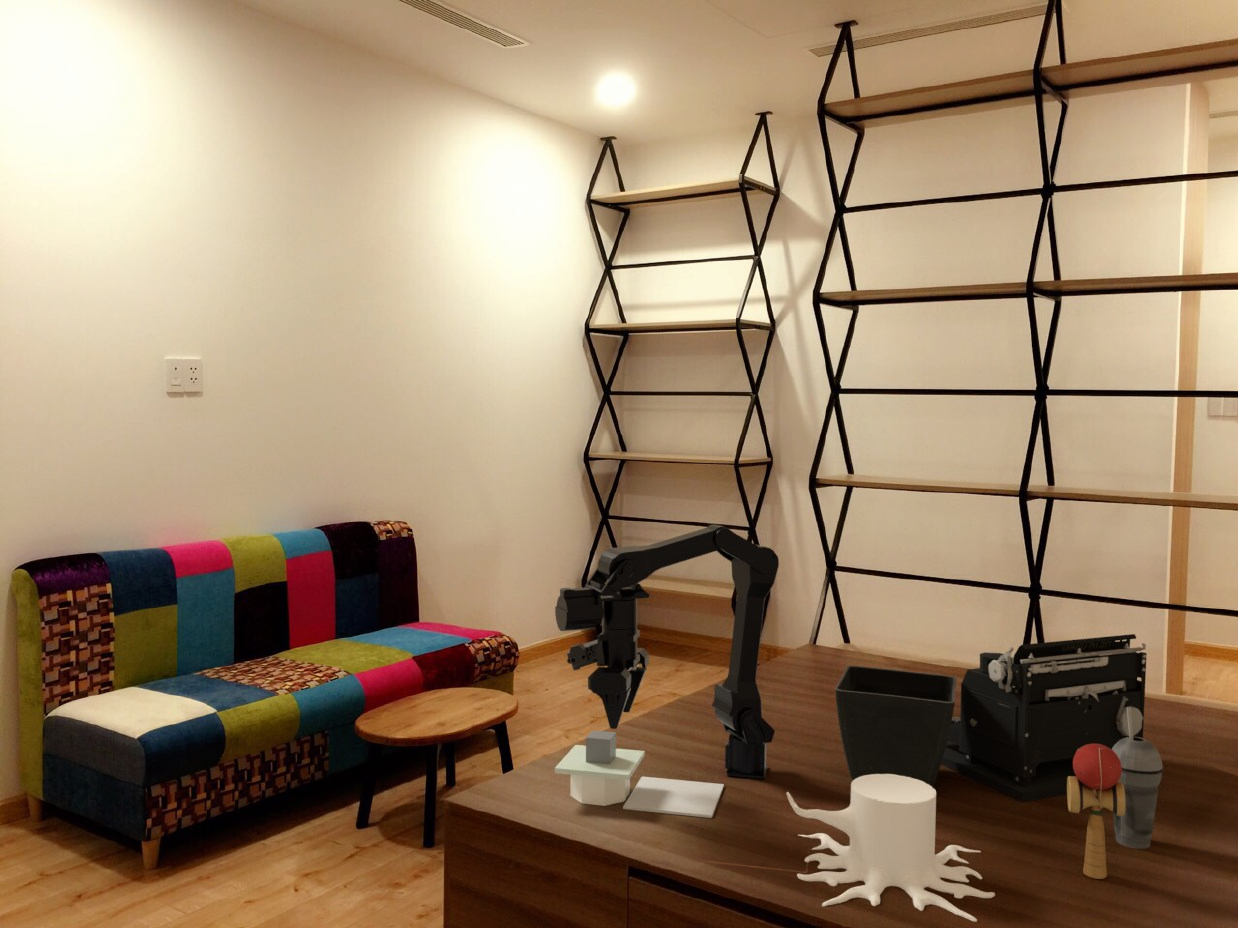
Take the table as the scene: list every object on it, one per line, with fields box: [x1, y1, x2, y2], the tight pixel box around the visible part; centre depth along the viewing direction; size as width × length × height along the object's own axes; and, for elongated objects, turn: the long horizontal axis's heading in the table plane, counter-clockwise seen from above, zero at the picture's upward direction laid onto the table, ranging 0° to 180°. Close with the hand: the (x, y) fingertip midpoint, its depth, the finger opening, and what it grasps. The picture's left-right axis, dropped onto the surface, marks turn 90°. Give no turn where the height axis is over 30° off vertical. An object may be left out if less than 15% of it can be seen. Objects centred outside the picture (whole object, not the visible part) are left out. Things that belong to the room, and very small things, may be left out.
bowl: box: [569, 775, 631, 807], centre depth 165 cm, size 9×9×5 cm
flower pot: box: [835, 665, 957, 788], centre depth 175 cm, size 19×19×17 cm
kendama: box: [1066, 744, 1125, 880], centre depth 137 cm, size 8×6×18 cm
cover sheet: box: [554, 729, 645, 780], centre depth 165 cm, size 12×12×5 cm
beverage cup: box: [1112, 707, 1165, 850], centre depth 148 cm, size 7×7×20 cm
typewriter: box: [941, 633, 1148, 803], centre depth 182 cm, size 31×27×25 cm
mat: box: [622, 776, 725, 819], centre depth 165 cm, size 14×14×1 cm
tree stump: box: [786, 774, 996, 923], centre depth 140 cm, size 28×28×11 cm
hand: (620, 719), depth 167 cm, fingers open, 9 cm apart
